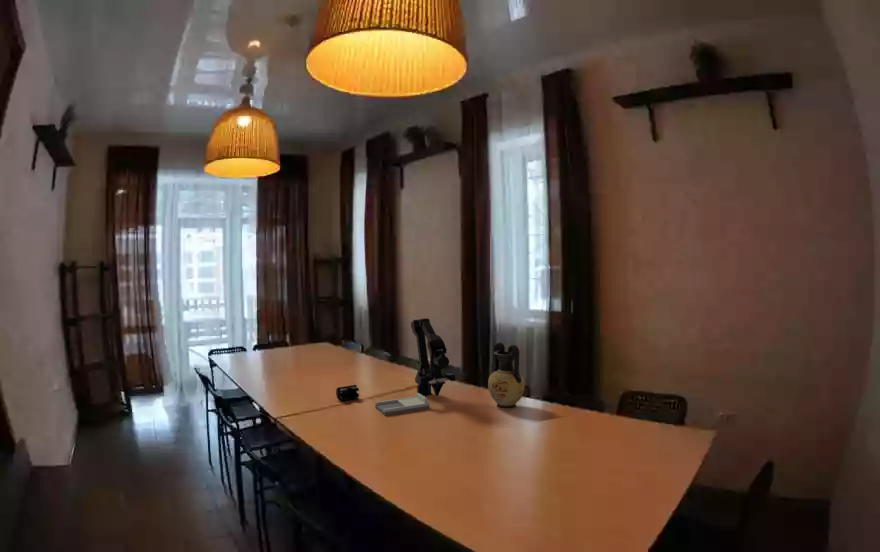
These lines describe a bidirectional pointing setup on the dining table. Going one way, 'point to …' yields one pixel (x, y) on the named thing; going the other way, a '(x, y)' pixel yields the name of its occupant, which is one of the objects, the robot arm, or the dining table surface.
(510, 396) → the amphora
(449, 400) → the dining table surface
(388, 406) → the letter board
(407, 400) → the sage shutter
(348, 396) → the end cap
